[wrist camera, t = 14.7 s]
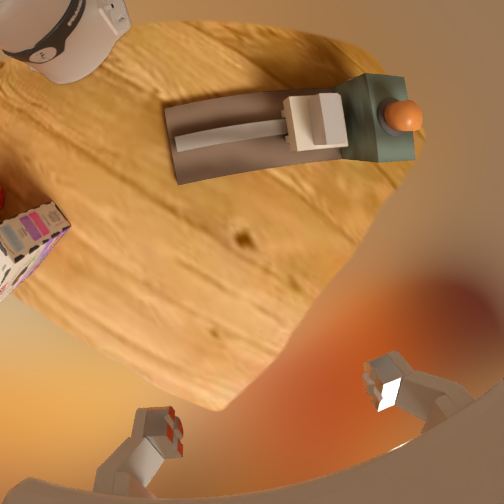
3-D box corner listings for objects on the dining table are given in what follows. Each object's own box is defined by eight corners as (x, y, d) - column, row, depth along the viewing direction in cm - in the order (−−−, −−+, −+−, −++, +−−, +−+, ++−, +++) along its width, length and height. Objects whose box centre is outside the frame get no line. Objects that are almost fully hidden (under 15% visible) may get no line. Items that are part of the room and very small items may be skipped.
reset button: (382, 101, 27) (396, 98, 24) (405, 103, 27) (420, 101, 24) (386, 131, 28) (401, 130, 25) (409, 131, 28) (424, 131, 25)
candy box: (52, 198, 36) (-12, 224, 20) (73, 226, 38) (15, 264, 23) (14, 250, 37) (-41, 289, 22) (33, 274, 39) (-18, 321, 24)
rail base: (165, 106, 35) (147, 88, 23) (360, 87, 37) (404, 72, 26) (179, 184, 39) (166, 196, 27) (370, 155, 41) (417, 160, 30)
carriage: (279, 103, 35) (298, 89, 27) (326, 100, 35) (354, 89, 27) (287, 151, 37) (308, 151, 29) (333, 146, 38) (363, 146, 30)
